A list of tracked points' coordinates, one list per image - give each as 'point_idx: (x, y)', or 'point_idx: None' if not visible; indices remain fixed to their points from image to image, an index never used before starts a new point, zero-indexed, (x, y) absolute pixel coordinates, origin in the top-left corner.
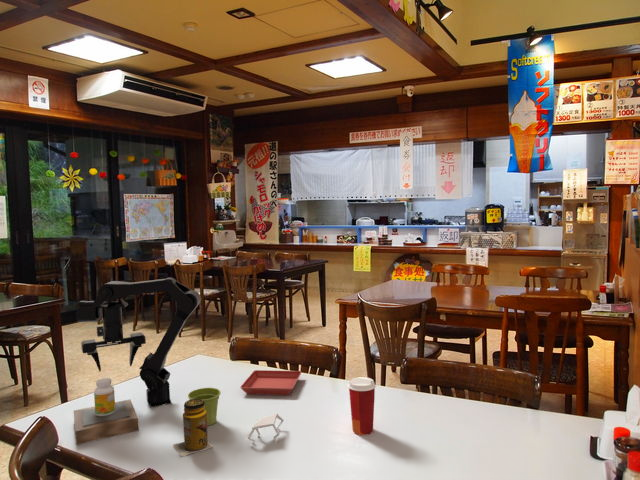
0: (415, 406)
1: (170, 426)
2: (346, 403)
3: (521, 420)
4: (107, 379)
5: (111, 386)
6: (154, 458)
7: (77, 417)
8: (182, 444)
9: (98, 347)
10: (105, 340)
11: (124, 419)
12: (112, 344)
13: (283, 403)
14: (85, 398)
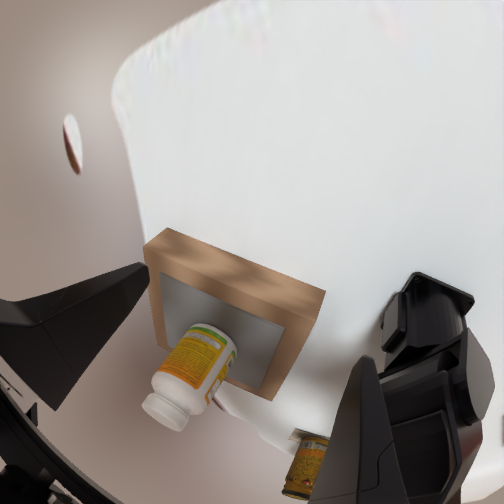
0: (492, 480)
1: (335, 405)
2: (494, 465)
3: (474, 496)
4: (171, 424)
5: (193, 412)
6: (262, 423)
7: (155, 297)
8: (306, 434)
9: (20, 409)
10: (39, 492)
11: (245, 386)
12: (104, 500)
13: (487, 445)
14: (227, 14)
